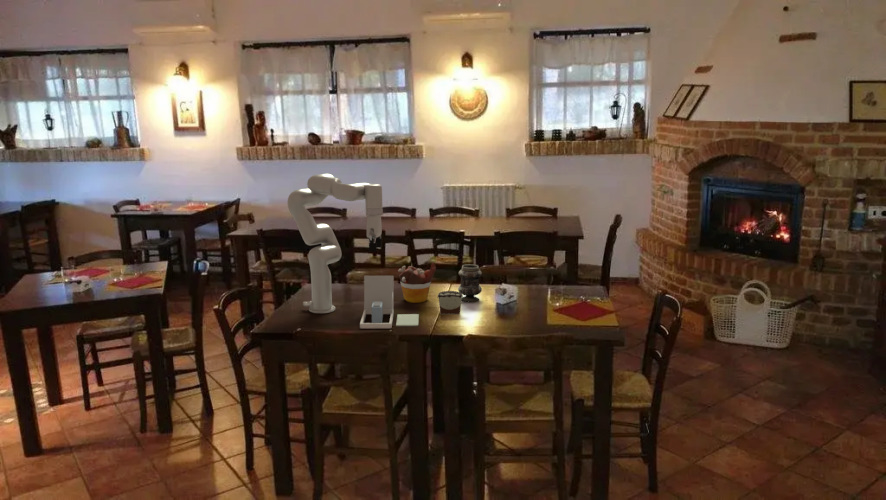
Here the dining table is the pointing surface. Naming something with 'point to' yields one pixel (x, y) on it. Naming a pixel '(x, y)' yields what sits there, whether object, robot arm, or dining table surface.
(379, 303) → the box
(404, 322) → the mat
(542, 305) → the dining table surface
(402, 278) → the bucket of meat
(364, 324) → the case
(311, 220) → the robot arm
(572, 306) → the dining table surface
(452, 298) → the food container
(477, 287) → the apothecary jar
